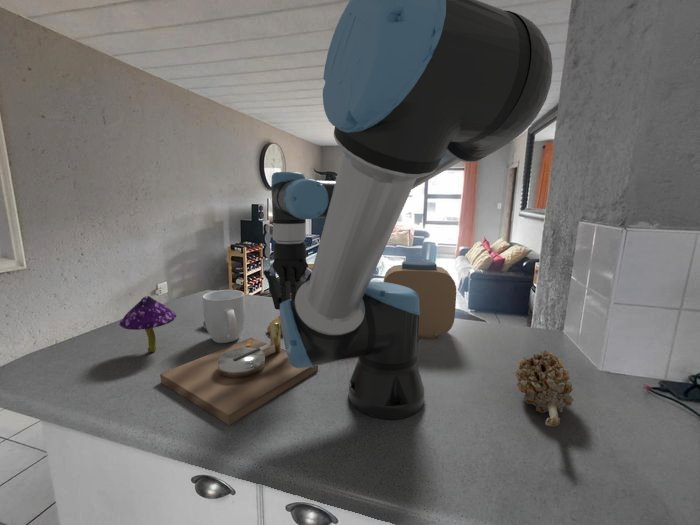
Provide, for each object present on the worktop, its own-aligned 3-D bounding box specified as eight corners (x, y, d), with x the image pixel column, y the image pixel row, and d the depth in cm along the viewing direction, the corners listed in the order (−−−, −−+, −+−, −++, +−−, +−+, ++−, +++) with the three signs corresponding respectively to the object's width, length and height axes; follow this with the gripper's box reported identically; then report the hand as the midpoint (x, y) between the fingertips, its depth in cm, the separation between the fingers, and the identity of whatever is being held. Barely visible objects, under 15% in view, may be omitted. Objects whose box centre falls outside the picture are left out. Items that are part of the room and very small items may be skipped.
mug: (255, 346, 90) (253, 299, 88) (212, 356, 84) (209, 306, 82) (240, 328, 102) (238, 287, 100) (202, 336, 96) (198, 292, 94)
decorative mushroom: (129, 346, 89) (122, 292, 86) (180, 339, 94) (176, 287, 91) (117, 367, 78) (110, 306, 75) (177, 357, 83) (172, 300, 80)
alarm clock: (448, 328, 104) (452, 261, 100) (453, 341, 94) (458, 266, 91) (382, 324, 106) (384, 258, 103) (380, 336, 97) (383, 264, 93)
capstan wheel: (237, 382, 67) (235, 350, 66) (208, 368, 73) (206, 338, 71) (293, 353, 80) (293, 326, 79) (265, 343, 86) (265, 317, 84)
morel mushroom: (508, 381, 73) (512, 338, 72) (557, 389, 70) (563, 345, 69) (526, 449, 53) (532, 393, 51) (597, 465, 50) (606, 405, 48)
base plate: (318, 370, 77) (318, 360, 77) (229, 425, 58) (228, 413, 57) (251, 344, 91) (250, 336, 90) (161, 382, 71) (160, 372, 71)
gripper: (321, 240, 79) (321, 334, 83) (271, 238, 81) (273, 328, 86) (310, 244, 71) (311, 346, 76) (255, 242, 74) (259, 340, 79)
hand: (291, 337), depth 81 cm, fingers closed
